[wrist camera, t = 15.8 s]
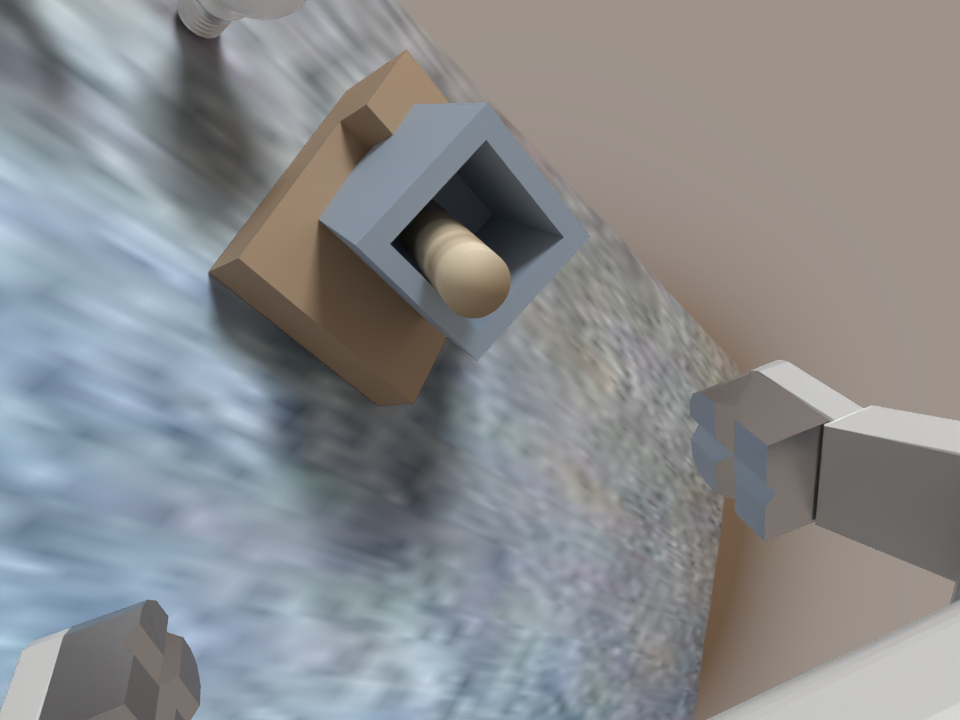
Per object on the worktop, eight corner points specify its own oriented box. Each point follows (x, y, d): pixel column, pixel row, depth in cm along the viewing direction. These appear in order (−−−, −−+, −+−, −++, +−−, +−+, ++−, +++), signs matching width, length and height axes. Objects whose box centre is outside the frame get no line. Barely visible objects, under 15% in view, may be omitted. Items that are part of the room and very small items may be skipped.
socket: (208, 272, 38) (369, 197, 26) (346, 91, 45) (516, -28, 34) (377, 405, 45) (561, 393, 33) (471, 230, 53) (646, 171, 41)
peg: (380, 222, 40) (428, 286, 30) (420, 184, 40) (481, 235, 30) (417, 259, 42) (473, 331, 32) (455, 222, 42) (524, 283, 32)
